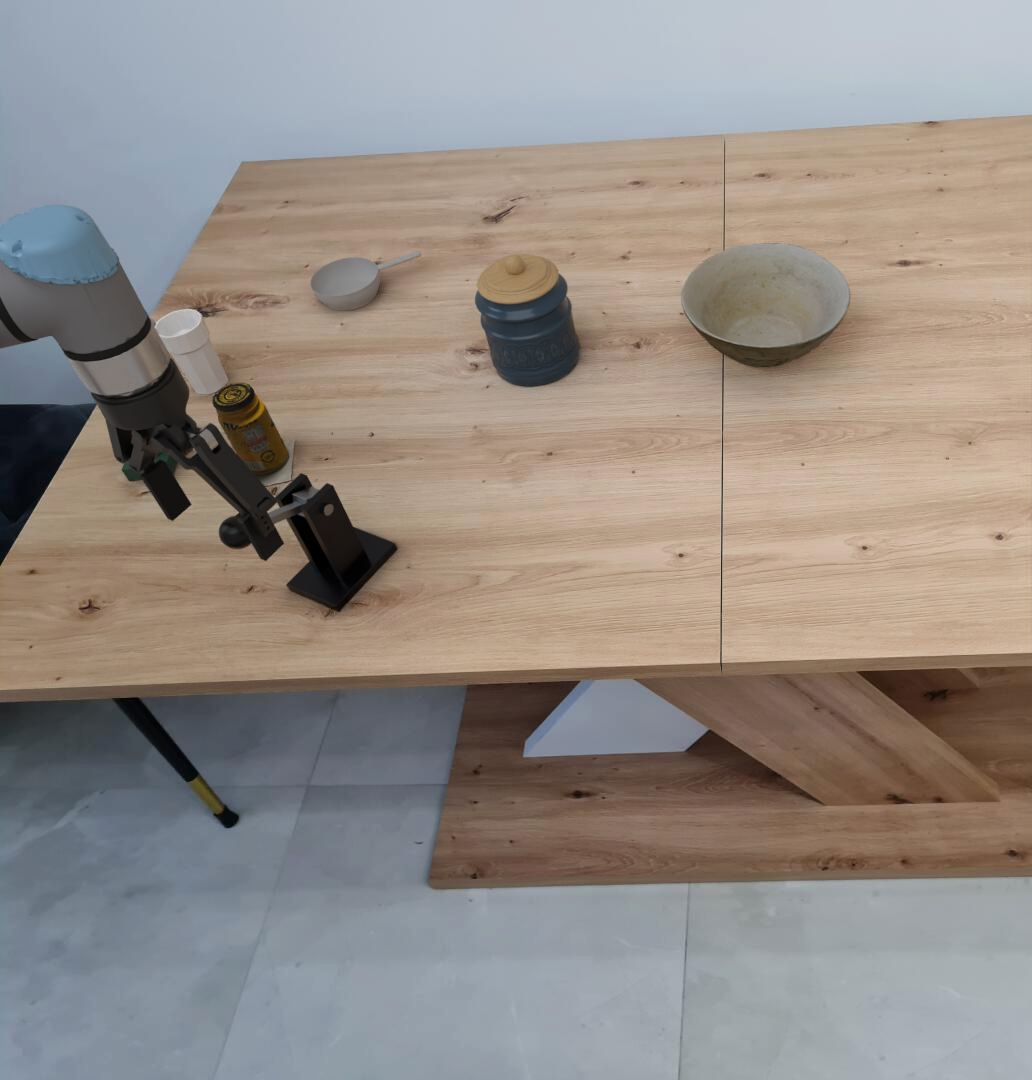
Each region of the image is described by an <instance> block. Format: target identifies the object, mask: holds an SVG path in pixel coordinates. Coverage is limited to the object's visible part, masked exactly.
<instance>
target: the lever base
mask: <svg viewBox="0 0 1032 1080" xmlns="http://www.w3.org/2000/svg"><path fill="white" fill-rule="evenodd" d="M309 487H313V488H314V486H313V484H312V481H311V480H310V478H309V476H308V475H307V474H304V473H302V472H301V473H299V474H298V475H297V476H296V477H295V478H294V479H293V480H291V481H290V483H289V484H287V486H285V487H284V488H283V489H282V490H281V491H280V492H278V494H277V495H276V496H274V498H275V499H276V500H277V503H276V504H277V506H278V507H279V508H281V507H283V506H286V505H288V504H291V503H293V494H294V493H297V492H299V491H302V490H304V489H307V488H309ZM318 490H319V491H318V492H317V493H316V494H315V495H314V496H313V497H312V498H311V499H310V500H309V501H308V502H307V503H305V504H304V505H303V506H302V507H301V510H302V512H303V514H304V516H305V517H303V516H300V515H298V514H297V515H294V516H292V517H290V518H287V519H285V520H286V522H287V523H288V526H289V527H290V529H291V530H292V532H293V534H294V536H295V538H296V540H297V541H298V544H299V545H300V547H301V549H302V550H303V552H304V554H305V556H306V558H307V559H308V562H307V563H306V564H305V565H304V566H303V567H301V569H300V570H299V571H298V572H297V573H296V574H295V575H294V576H293V577H292V578H291V579H290V580H289V581H288V582H287V583H286V585H285V586H286V587H287V589H288V591H290V592H292V593H295V594H296V595H299V596H301V597H303V598H306V599H308V600H311V601H312V602H315V603H317V604H319V605H322V606H324V607H327V608H329V609H330V610H333V611H336V612H339V613H340V612H341V610H342V609H344V607H345V606H346V605H348V603H349V602H350V601H351V600H352V599H353V598H354V597H355V596H356V595H357V593H358V592H359V591H360V590H361V589H362V588H363V587H364V586H365V585H366V584H367V583H368V582H369V581H370V579H371V578H372V577H373V576H374V575H375V574H376V573H377V572H378V571H379V570H380V569H381V567H383V566H384V564H385V563H386V562H387V561H388V560H389V559H390V558H391V557H392V556H393V554H395V552H397V550H398V546H397V545H396V543H395V542H393V541H391V540H388V539H386V538H384V537H380V536H378V535H376V534H373V533H371V532H368V531H366V530H363V529H360V528H358V527H356V526H354V525H353V523H352V520H351V519H350V517H349V515H348V512H347V510H346V509H345V507H344V505H343V503H342V501H341V499H340V497H339V495H338V492H337V490H336V488H335V486H334V485H333V484H331V483H329V482H326V483H325V484H324V485H323V486H322V487H321V488H320V489H318Z"/></svg>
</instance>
